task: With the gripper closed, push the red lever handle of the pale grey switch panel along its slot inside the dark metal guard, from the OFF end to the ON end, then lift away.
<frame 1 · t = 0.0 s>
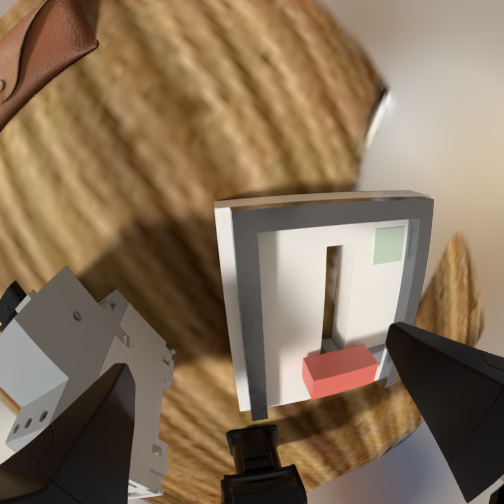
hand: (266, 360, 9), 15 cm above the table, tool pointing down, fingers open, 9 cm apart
guard: (339, 322, 22), on the switch panel, point 3 cm above the table
circuit breaker: (98, 315, 23), on the table
lever: (334, 362, 24), point 4 cm above the table, slide at 0.0 cm
switch panel: (323, 301, 26), on the table
sunglasses case: (16, 80, 15), on the table
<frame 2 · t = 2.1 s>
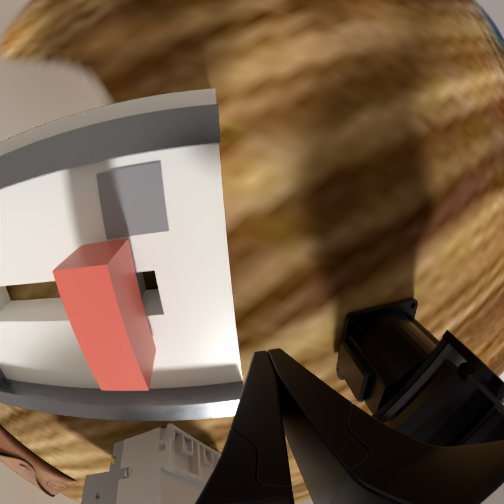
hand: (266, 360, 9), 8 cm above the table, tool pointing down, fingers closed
guard: (45, 308, 12), on the switch panel, point 3 cm above the table
circuit breaker: (147, 455, 22), on the table
lever: (117, 304, 12), point 4 cm above the table, slide at 0.0 cm
switch panel: (71, 279, 15), on the table
sunglasses case: (24, 450, 22), on the table
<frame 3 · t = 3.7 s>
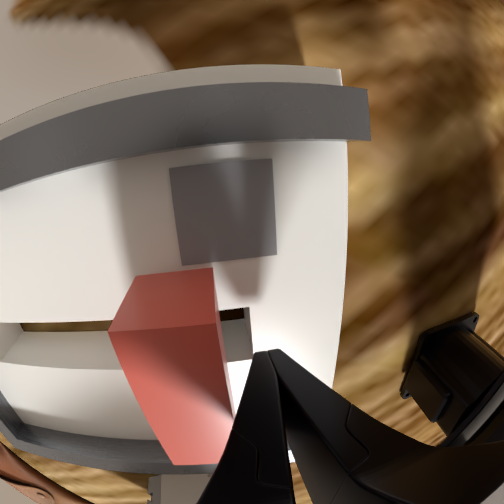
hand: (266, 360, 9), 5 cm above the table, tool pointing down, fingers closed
guard: (81, 358, 9), on the switch panel, point 3 cm above the table
circuit breaker: (184, 486, 19), on the table
lever: (190, 354, 9), point 4 cm above the table, slide at 0.2 cm, touching gripper
switch panel: (107, 309, 12), on the table
sunglasses case: (41, 476, 19), on the table
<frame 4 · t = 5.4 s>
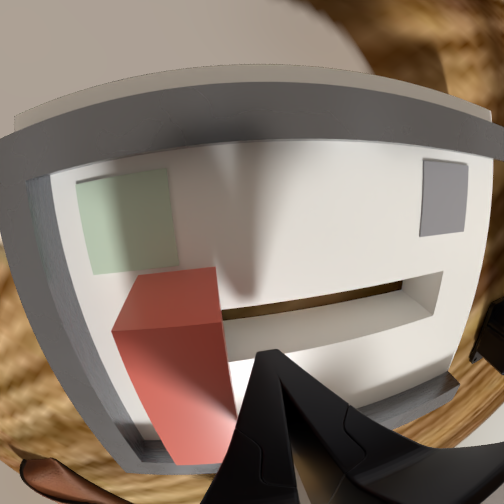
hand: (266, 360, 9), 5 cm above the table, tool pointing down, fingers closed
guard: (321, 335, 10), on the switch panel, point 3 cm above the table
lever: (192, 354, 9), point 4 cm above the table, slide at 9.1 cm, touching gripper
switch panel: (293, 289, 13), on the table
sunglasses case: (95, 490, 20), on the table
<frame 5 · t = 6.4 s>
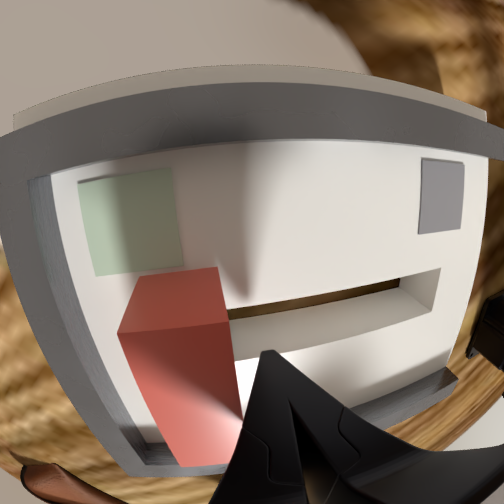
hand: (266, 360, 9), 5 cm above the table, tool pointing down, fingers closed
guard: (325, 332, 10), on the switch panel, point 3 cm above the table
lever: (194, 355, 9), point 4 cm above the table, slide at 9.2 cm, touching gripper
switch panel: (293, 288, 13), on the table
sunglasses case: (97, 494, 19), on the table
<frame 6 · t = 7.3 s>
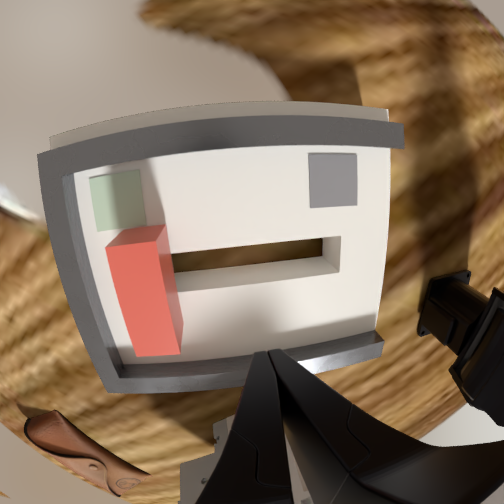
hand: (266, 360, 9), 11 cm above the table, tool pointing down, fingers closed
guard: (235, 272, 15), on the switch panel, point 3 cm above the table
circuit breaker: (241, 433, 26), on the table
lever: (153, 281, 15), point 4 cm above the table, slide at 9.0 cm
switch panel: (229, 250, 19), on the table
sunglasses case: (91, 448, 26), on the table
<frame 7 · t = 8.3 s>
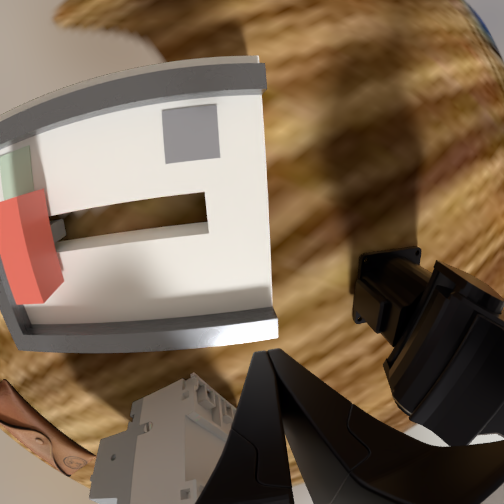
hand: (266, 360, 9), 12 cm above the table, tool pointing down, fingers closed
guard: (95, 230, 14), on the switch panel, point 3 cm above the table
circuit breaker: (165, 416, 25), on the table
lever: (36, 240, 14), point 4 cm above the table, slide at 9.0 cm
switch panel: (114, 216, 18), on the table
sunglasses case: (41, 424, 25), on the table
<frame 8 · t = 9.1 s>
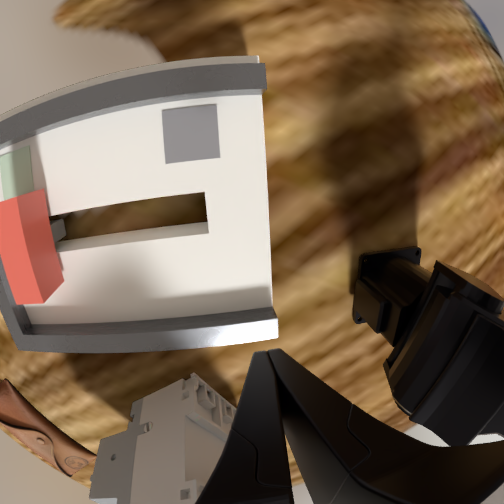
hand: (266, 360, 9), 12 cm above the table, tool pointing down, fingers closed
guard: (95, 230, 14), on the switch panel, point 3 cm above the table
circuit breaker: (165, 416, 25), on the table
lever: (36, 240, 14), point 4 cm above the table, slide at 9.0 cm
switch panel: (114, 216, 18), on the table
sunglasses case: (42, 424, 25), on the table
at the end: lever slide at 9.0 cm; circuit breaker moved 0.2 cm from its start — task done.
